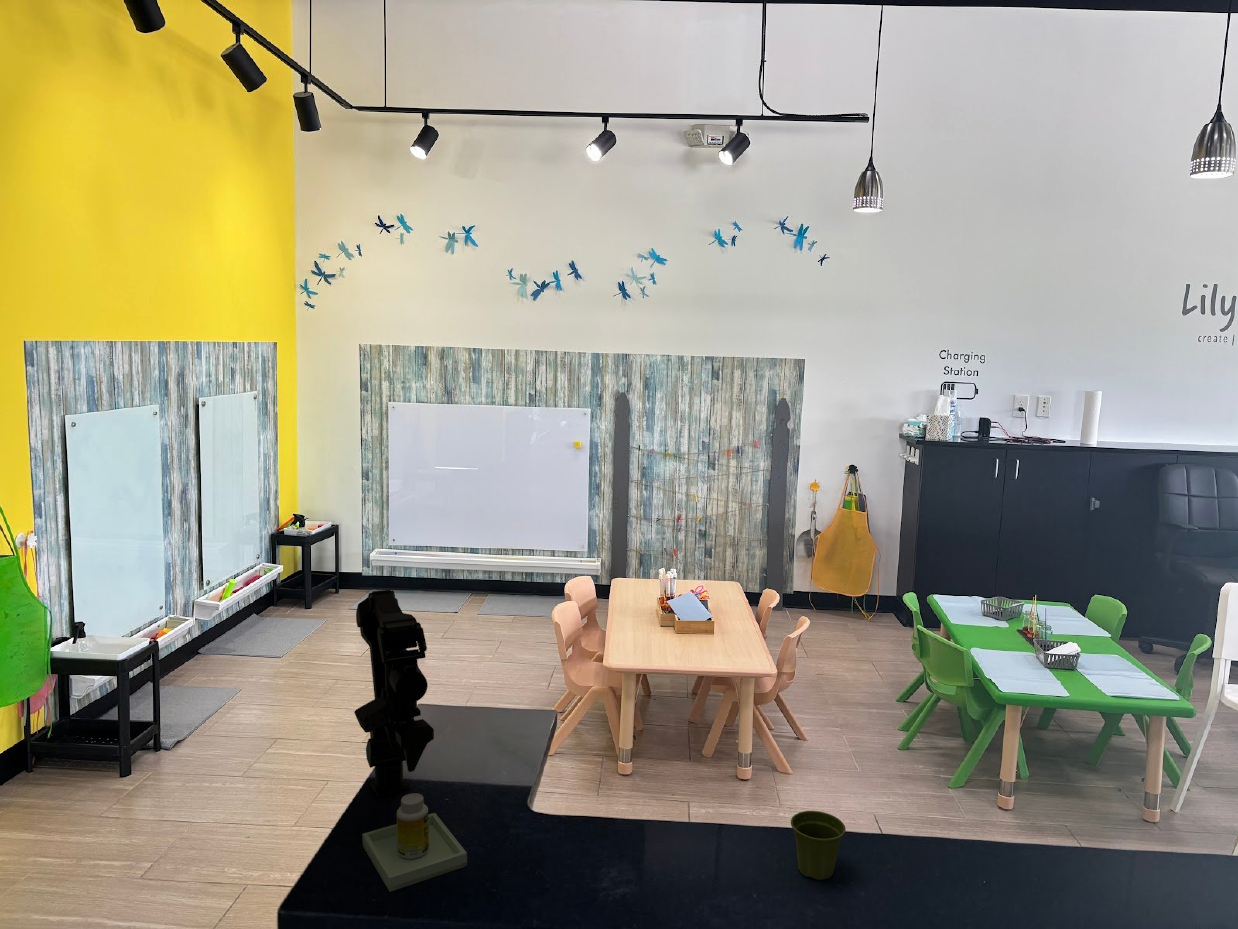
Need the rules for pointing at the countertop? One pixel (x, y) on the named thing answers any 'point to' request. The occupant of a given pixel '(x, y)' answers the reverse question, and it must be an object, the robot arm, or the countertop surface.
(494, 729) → the countertop surface
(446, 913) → the countertop surface
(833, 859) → the plant pot
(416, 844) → the supplement bottle
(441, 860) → the tray
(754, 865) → the countertop surface
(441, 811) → the countertop surface
